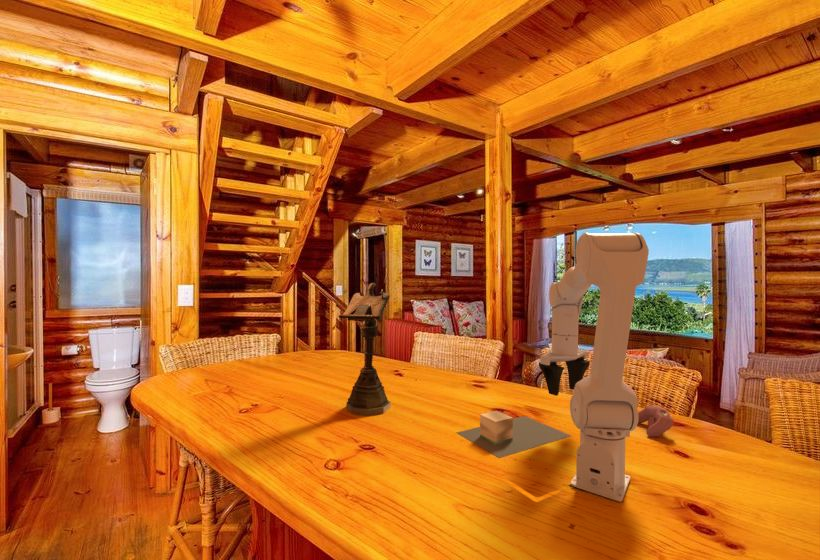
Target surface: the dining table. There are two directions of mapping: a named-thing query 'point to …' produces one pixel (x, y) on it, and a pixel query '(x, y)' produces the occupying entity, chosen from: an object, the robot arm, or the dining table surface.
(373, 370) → the book stand
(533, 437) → the rubber mat
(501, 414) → the birch block
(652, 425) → the video game controller
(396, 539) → the dining table surface
